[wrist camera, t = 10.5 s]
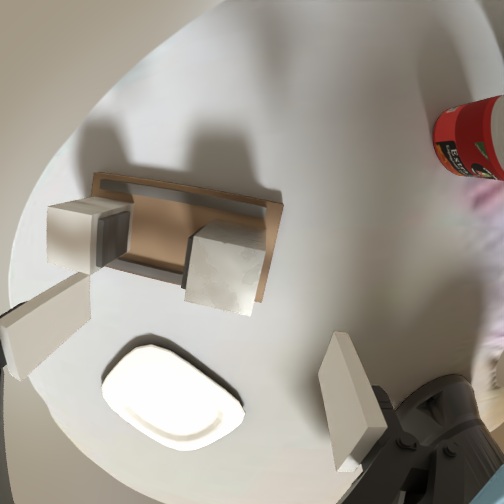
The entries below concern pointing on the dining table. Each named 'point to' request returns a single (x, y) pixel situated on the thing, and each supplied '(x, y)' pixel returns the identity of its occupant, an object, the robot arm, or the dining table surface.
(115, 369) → the plate
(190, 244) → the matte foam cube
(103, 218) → the rail board
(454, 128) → the canned food
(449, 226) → the dining table surface
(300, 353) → the dining table surface
